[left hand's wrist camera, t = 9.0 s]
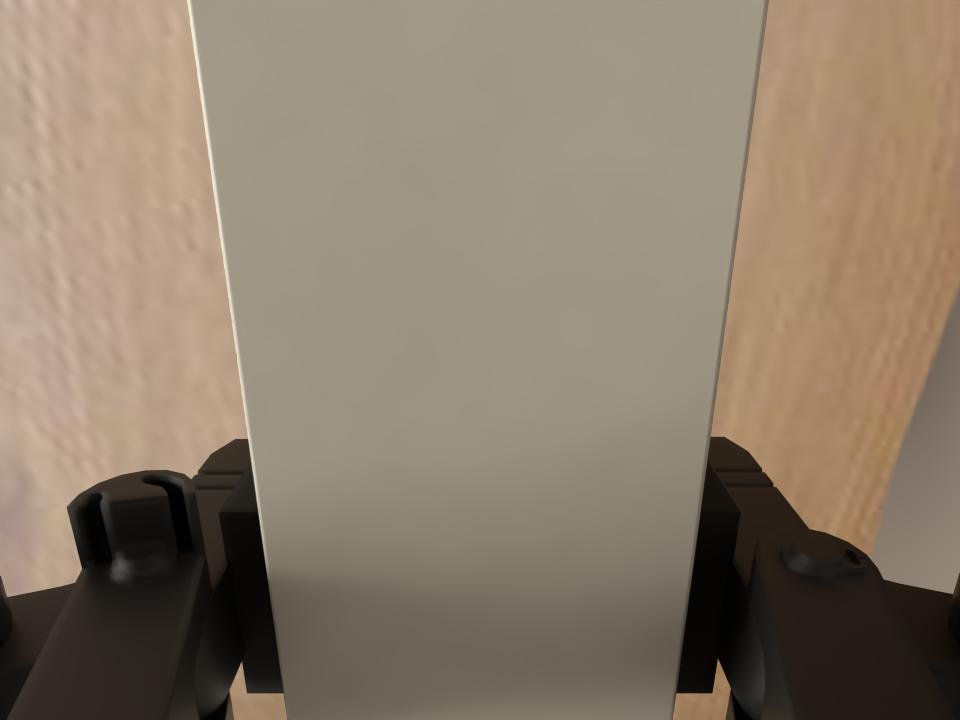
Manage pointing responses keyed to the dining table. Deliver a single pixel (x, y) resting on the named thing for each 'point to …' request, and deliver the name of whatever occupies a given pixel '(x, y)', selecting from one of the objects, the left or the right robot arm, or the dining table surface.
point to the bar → (478, 335)
